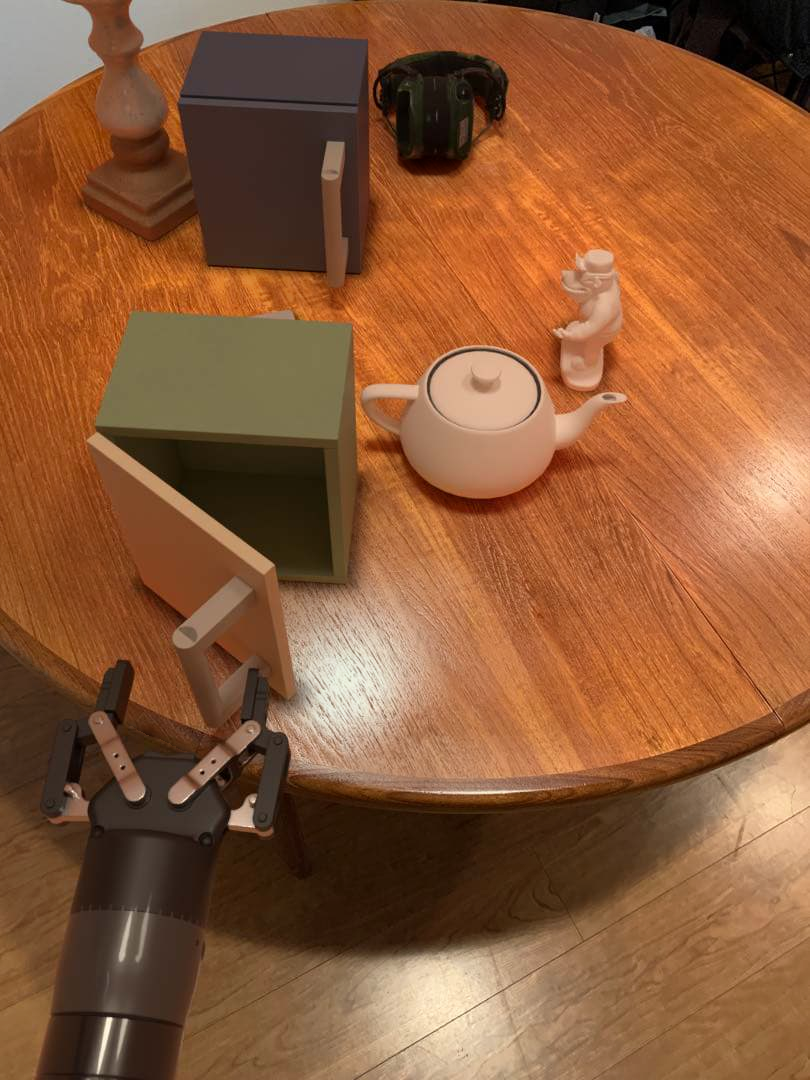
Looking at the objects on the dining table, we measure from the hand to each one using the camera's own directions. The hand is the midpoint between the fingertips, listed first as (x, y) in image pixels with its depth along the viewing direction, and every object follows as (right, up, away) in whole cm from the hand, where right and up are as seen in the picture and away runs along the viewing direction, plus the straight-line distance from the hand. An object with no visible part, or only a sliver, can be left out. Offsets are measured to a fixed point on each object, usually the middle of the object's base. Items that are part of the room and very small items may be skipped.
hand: (191, 668), depth 61 cm
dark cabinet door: (+1, +35, +34) cm, 49 cm away
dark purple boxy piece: (+2, +42, +40) cm, 58 cm away
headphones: (+18, +58, +51) cm, 79 cm away
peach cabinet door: (-2, -1, +10) cm, 10 cm away
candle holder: (-14, +46, +42) cm, 64 cm away
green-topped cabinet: (+2, +10, +18) cm, 20 cm away
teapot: (+21, +16, +23) cm, 35 cm away
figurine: (+31, +26, +30) cm, 50 cm away
